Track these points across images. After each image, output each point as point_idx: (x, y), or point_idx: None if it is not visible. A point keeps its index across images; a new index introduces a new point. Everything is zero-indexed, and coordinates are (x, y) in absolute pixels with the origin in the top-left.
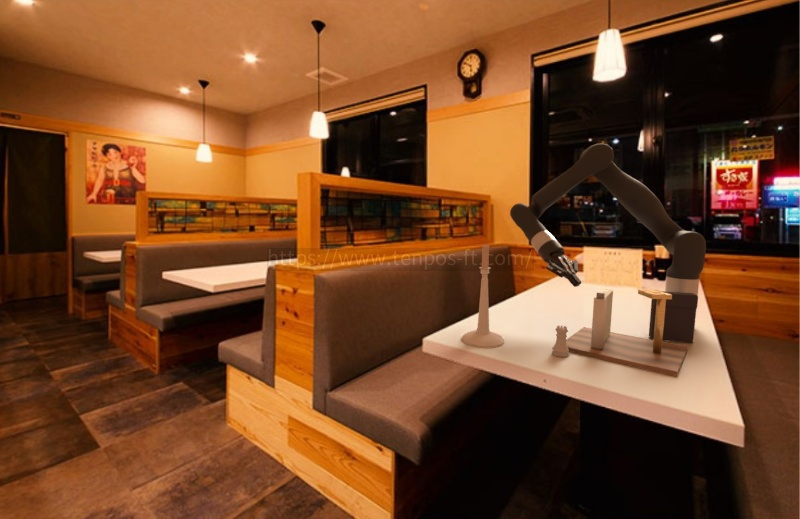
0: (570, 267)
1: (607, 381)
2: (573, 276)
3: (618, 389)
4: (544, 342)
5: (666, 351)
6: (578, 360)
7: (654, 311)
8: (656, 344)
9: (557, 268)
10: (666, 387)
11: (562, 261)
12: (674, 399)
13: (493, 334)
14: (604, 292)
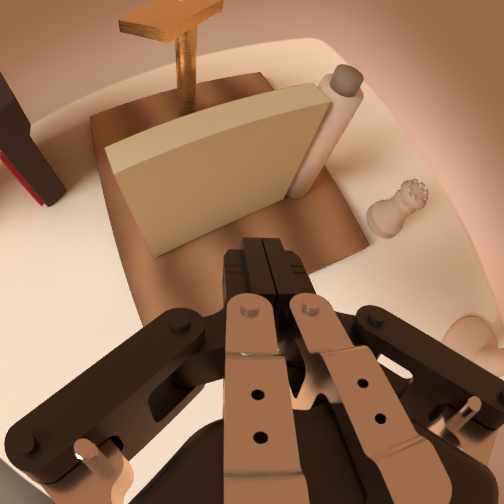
0: (268, 354)
1: (376, 120)
2: (292, 273)
3: (378, 105)
4: (363, 303)
5: (163, 112)
6: (366, 184)
7: (34, 143)
8: (195, 101)
9: (446, 353)
10: (311, 76)
11: (383, 441)
12: (332, 67)
13: (470, 349)
14: (215, 126)
